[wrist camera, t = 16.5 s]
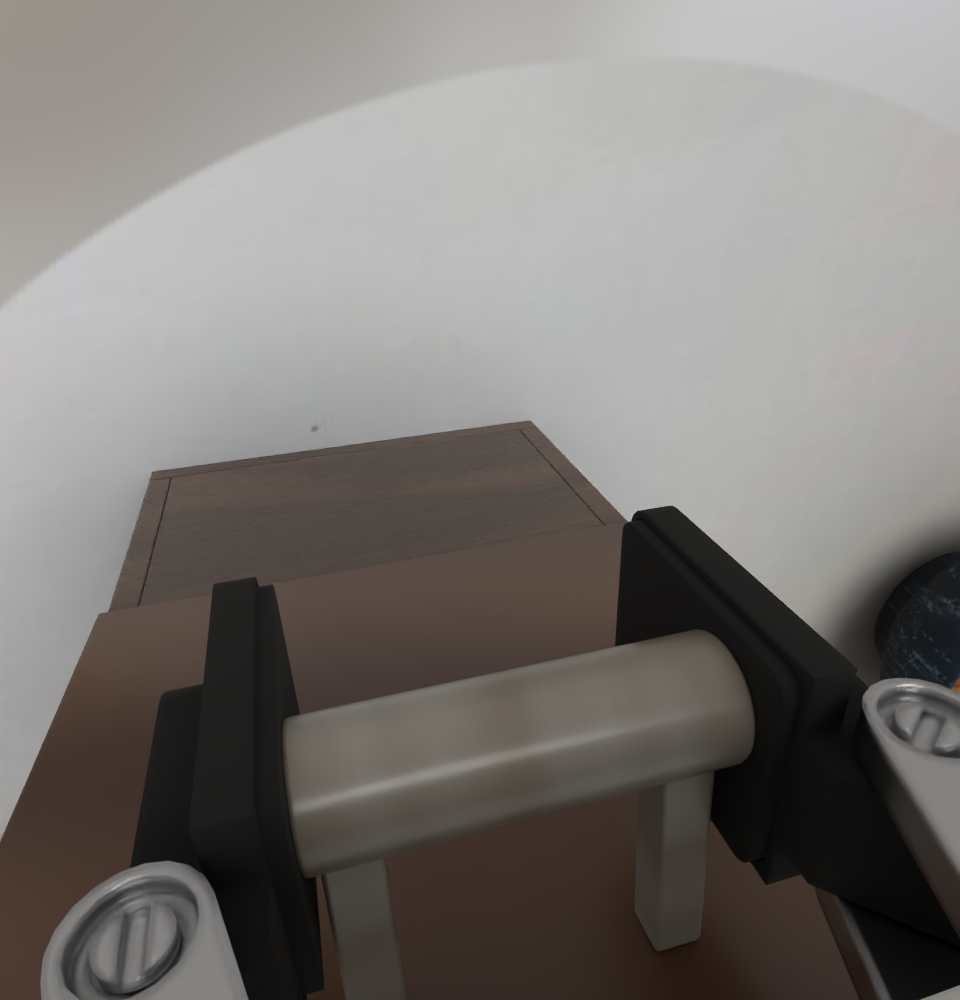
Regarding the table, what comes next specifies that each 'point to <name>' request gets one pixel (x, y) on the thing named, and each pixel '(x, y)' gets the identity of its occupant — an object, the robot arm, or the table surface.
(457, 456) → the brown wooden box
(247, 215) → the table surface
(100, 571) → the table surface
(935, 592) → the bowl
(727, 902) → the wooden box lid
